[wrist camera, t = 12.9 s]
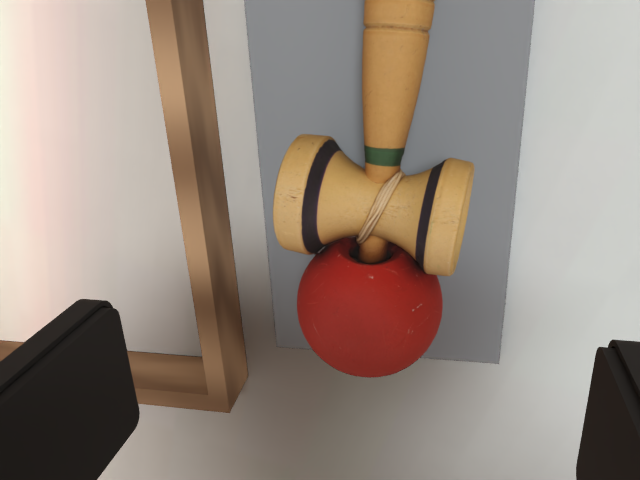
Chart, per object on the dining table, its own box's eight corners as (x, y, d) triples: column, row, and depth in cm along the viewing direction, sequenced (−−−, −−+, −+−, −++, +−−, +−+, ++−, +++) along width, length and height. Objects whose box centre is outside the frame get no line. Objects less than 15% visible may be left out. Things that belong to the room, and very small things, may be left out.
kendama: (293, -92, 22) (275, 330, 27) (281, -156, 16) (261, 405, 21) (491, -78, 22) (435, 339, 27) (556, -137, 16) (468, 417, 21)
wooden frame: (248, 375, 31) (229, 413, 28) (-18, 352, 34) (-57, 383, 31) (181, -175, 21) (142, -200, 18) (-186, -131, 24) (-265, -147, 21)
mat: (497, 356, 27) (499, 363, 27) (279, 340, 29) (276, 346, 29) (544, -129, 19) (548, -132, 19) (239, -102, 21) (234, -104, 21)
